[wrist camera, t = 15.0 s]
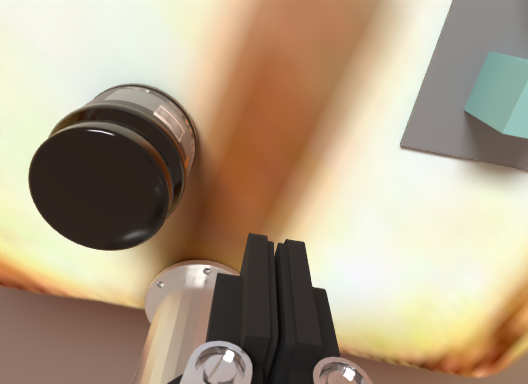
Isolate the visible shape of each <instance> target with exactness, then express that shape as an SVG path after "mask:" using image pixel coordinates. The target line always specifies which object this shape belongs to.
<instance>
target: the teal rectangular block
mask: <svg viewBox="0 0 528 384" xmlns="http://www.w3.org/2000/svg"><path fill="white" fill-rule="evenodd" d="M464 110H465V111H466V112H468V113H470V114H471V115H473V116H475V117H476V118H478V119H479V120H481V121H483V122H484V123H486V124H488V125H489V126H491V127H493V128H494V129H496V130H497V131H499V132H501V133H502V134H507V135H512V136H517V137H522V138H527V139H528V60H527V59H522V58H518V57H513V56H509V55H504V54H500V53H495V52H491V51H489V53H488V55H487V57H486V60H485V62H484V64H483V67H482V69H481V71H480V74H479V76H478V78H477V81H476V83H475V85H474V88H473V90H472V92H471V95H470V97H469V99H468V102H467V104H466V107H465V109H464Z"/></svg>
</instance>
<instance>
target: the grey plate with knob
mask: <svg viewBox="0 0 528 384" xmlns="http://www.w3.org/2000/svg"><path fill="white" fill-rule="evenodd" d="M489 51H491V52H495V53H500V54H504V55H509V56H513V57H518V58H522V59H527V60H528V0H453V1H452V4H451V7H450V9H449V12H448V15H447V18H446V20H445V23H444V26H443V28H442V31H441V34H440V37H439V39H438V42H437V45H436V48H435V50H434V53H433V56H432V58H431V61H430V64H429V67H428V69H427V72H426V75H425V77H424V80H423V83H422V86H421V88H420V91H419V94H418V96H417V99H416V102H415V105H414V107H413V110H412V113H411V116H410V118H409V121H408V124H407V126H406V129H405V132H404V135H403V137H402V140H401V143H400V145H401V146H405V147H410V148H415V149H420V150H425V151H431V152H436V153H441V154H446V155H451V156H457V157H462V158H467V159H472V160H477V161H483V162H488V163H493V164H498V165H503V166H509V167H514V168H519V169H524V170H528V139H527V138H522V137H517V136H512V135H507V134H502V133H501V132H499V131H497V130H496V129H494V128H493V127H491V126H489V125H488V124H486V123H484V122H483V121H481V120H479V119H478V118H476V117H475V116H473V115H471V114H470V113H468V112H466V111H465V110H464V109H465V107H466V104H467V102H468V99H469V97H470V95H471V92H472V90H473V88H474V85H475V83H476V81H477V78H478V76H479V74H480V71H481V69H482V67H483V64H484V62H485V60H486V57H487V55H488V53H489Z"/></svg>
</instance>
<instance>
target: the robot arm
mask: <svg viewBox="0 0 528 384" xmlns="http://www.w3.org/2000/svg"><path fill="white" fill-rule="evenodd" d="M145 311H146V315H147V317H148V319H149V321H150V323H151V327H150V330H149V334H148V337H147V340H146V343H145V346H144V349H143V352H142V355H141V359H140V362H139V365H138V368H137V371H136V374H135V377H134V381H133V384H373V383H372V382H371V380H370V378H369V376H368V375H367V373H365V371H364V370H363V369H362V368H361V367H359V366H358V365H356V364H355V363H353V362H352V361H349V360H347V359H344V358H340V353H339V348H338V344H337V339H336V334H335V330H334V325H333V320H332V316H331V311H330V306H329V302H328V297H327V293H326V290H325V289H321V288H315V287H312V282H311V277H310V271H309V265H308V259H307V253H306V248H305V243H304V242H301V241H295V240H288V239H286V240H285V242H284V244H283V243H278V245H277V249H276V252H275V256H274V242H271V241H268V238H267V236H264V235H258V234H252V233H249V235H248V239H247V244H246V249H245V253H244V258H243V262H242V267H241V272H240V274H239V273H238V272H237V271H235V270H233V269H232V268H230V267H228V266H226V265H223V264H220V263H217V262H213V261H208V260H189V261H183V262H179V263H176V264H173V265H171V266H169V267H167V268H165V269H164V270H163V271H161V272H160V273H159V274H157V276H156V277H155V278H154V279H153V280H152V282H151V284H150V286H149V288H148V291H147V294H146V297H145Z"/></svg>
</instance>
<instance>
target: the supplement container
mask: <svg viewBox="0 0 528 384" xmlns="http://www.w3.org/2000/svg"><path fill="white" fill-rule="evenodd" d="M196 153H197V135H196V131H195V127H194V125H193V122H192V120H191V118H190V116H189V115H188V113H187V111H186V110H185V109H184V108H183V106H182V105H181V104H180V103H179V102H178V101H177V100H176V99H174V98H173V97H172V96H170V95H169V94H167V93H166V92H164V91H162V90H160V89H158V88H155V87H152V86H149V85H145V84H137V83H129V84H121V85H117V86H114V87H111V88H109V89H107V90H105V91H103V92H102V93H100V94H99V95H98V96H96V97H95V98H94V99H93V100H92V101H90V102H89V103H87V104H86V105H85V106H83V107H81V108H79V109H77V110H74V111H73V112H71V113H69V114H68V115H66V116H65V117H64V118H63V119H61V120H60V121H59V122H58V123H57V124H56V126H55V127H54V128H53V130H52V131H51V133H50V135H49V137H48V139H47V140H45V141H44V142H43V143H42V144H41V145H40V147H39V148H38V149H37V151H36V152H35V154H34V156H33V158H32V161H31V164H30V168H29V175H28V181H29V189H30V193H31V197H32V199H33V202H34V204H35V206H36V208H37V210H38V211H39V213H40V214H41V216H42V217H43V218H44V219H45V221H46V222H47V223H48V224H49V225H50V226H51V227H52V228H53V229H54V230H56V231H57V232H58V233H59V234H61V235H62V236H64V237H65V238H67V239H69V240H71V241H73V242H75V243H77V244H79V245H82V246H85V247H88V248H92V249H97V250H105V251H116V250H124V249H129V248H132V247H135V246H138V245H140V244H142V243H144V242H145V241H147V240H149V239H150V238H151V237H152V236H154V235H155V234H156V233H157V232H158V230H159V229H160V228H161V227H162V225H163V223H164V221H165V219H166V218H167V217H169V216H170V214H171V213H172V212H173V211H174V210H175V209H176V207H177V205H178V204H179V202H180V200H181V198H182V195H183V192H184V189H185V183H186V180H187V177H188V175H189V172H190V170H191V168H192V166H193V164H194V161H195V158H196Z"/></svg>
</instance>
